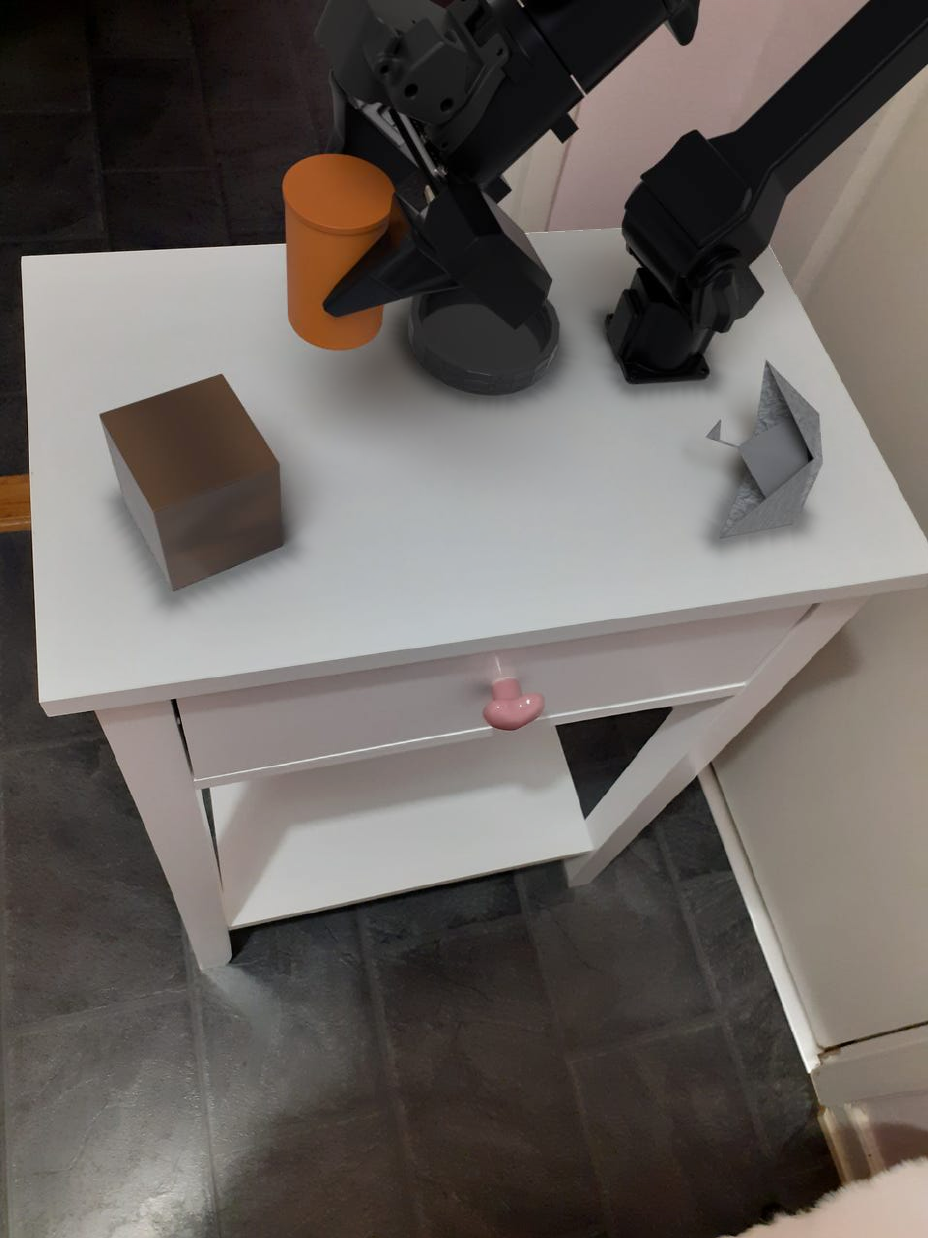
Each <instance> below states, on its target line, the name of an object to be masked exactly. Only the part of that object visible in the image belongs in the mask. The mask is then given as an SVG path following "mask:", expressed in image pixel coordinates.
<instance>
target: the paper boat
mask: <svg viewBox="0 0 928 1238" xmlns="http://www.w3.org/2000/svg"><path fill="white" fill-rule="evenodd" d="M760 388H761V389H760V394H759V402H758V407H757V414H756V415H757V416H756V422H755V427H754V428H755V429H754V435H753V437H751V438H749V439H748V440H746V441H744V442H742V443H740V444H739V445H736V444H733V443H730V442H727V441H723V440H721V431H722V419H719V420H718V422H717V423H716V424H715V425H714V426H713V428H712V429H711V430H710V431H709V432H708V434H707V435H706V436H705V437H706V438H707V439H709V440H712V441H716V442H718V443H720V444H723V445H727V446H731V447H734V448H736V449H737V450H738V453H740V455H741V457H742V459H743V461H744V462H745V464H746V466H747V470H746V472H745V475H744V478H743V480H742V481H741V485H740V486H739V490H738V491H737V495H736V497H735V499H734V502H733V504H732V507H731V509H730V512H729V514H728V517H727V519H726V521H725V524H724V526H723V528H722V530H721V533H720V535H719V539H723V538H728V537H732V536H739V535H744V534H748V533H754V532H759V531H765V530H769V529H773V528H781V527H785V526H790V525H793V524H794V522H795V521H796V519H797V518H798V516H799V515H800V513H801V511H802V509H803V508H804V505H805V504H806V501H807V499H808V497H809V495H810V493H811V491H812V489H813V486H814V483H815V481H816V480H817V477H818V475H819V473H820V471H821V469H822V466H823V464H824V462H823V460H824V459H823V447H822V445H823V444H822V430H821V417H820V413H819V412H818V411H817V410H816V409H815V408H814V406H812V405H811V404H810V403H809V402H808V401H807V400H806V399H805V397H803V396H802V394H801V393H799V391H798V390H797V389H796V388H795V387H794V386H793V385H792V384H791V383H790V381H788V380H787V379H786V378H785V377H784V376H783V375H782V374H781V372H780V371H778V369H776V368H775V367H774V366H773V364H771V362H769V360H768V359H765V360H764V367H763V374H762V381H761V387H760Z"/></svg>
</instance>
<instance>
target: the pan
mask: <svg viewBox="0 0 928 1238" xmlns="http://www.w3.org/2000/svg"><path fill="white" fill-rule="evenodd" d="M560 328H561V323H560V320H559V317H558V314H557V312H556V308H555V307H554V305H553V303H552V302H551V301H550V299H549V298H547V301H546V303H545V304H544V306H543V307H542V308H541V309H540V310H539V311H538V312H536V313H535V314H534V315H533V316H532V317H531V318H529V319H528V320H527V321H526V322H525V323H523V324H522V325H521V326H520V327H519V328H517V329H516V330H514V329H513V328H512V327H511V326H509V325H508V324H507V323H506V322H504V321H503V320H502V319H501V318H500V317H498V316H497V315H496V314H495V313H493V312H492V311H491V310H490V309H488V308H487V307H486V306H485V305H484V304H482V303H481V302H480V301H479V300H477V299H476V298H475V297H474V296H472V295H471V294H470V293H469V292H468V291H466V290H465V289H464V288H463V287H461V288H456V289H450V290H444V291H439V292H433V293H427V294H422V295H417V296H413V297H411V303H410V308H409V314H408V322H407V337H408V343H409V346H410V348H411V351H412V353H413V355H414V357H415V358H416V360H417V361H418V362H419V364H420V366H422V367H423V368H424V369H425V371H427V372H428V373H429V374H430V375H432V376H433V377H434V378H436V379H437V380H439V381H440V382H442V383H444V384H446V385H447V386H450V387H452V388H454V389H457V390H460V391H464V392H467V393H471V394H477V395H485V396H499V395H507V394H512V393H516V392H519V391H521V390H524V389H526V388H528V387H530V386H532V385H533V384H535V383H536V382H538V381H539V380H540V379H541V378H542V377H543V376H544V375H545V374H546V372H547V371H548V369H549V367H550V365H551V363H552V360H553V359H554V356H555V353H556V350H557V348H558V344H559V341H560V330H561V329H560Z"/></svg>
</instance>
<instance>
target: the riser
mask: <svg viewBox="0 0 928 1238" xmlns="http://www.w3.org/2000/svg"><path fill="white" fill-rule="evenodd" d="M98 416H99V420H100V423H101V426H102V430H103V434H104V437H105V441H106V444H107V448H108V451H109V454H110V458H111V461H112V465H113V468H114V471H115V476H116V478H117V479H116V480H117V482H118V485H119V489H120V492H121V495H122V496H121V497H122V499H123V502H124V504H125V507H126V508H127V510H128V512H129V514H130V515H131V517H132V520H133V521H134V523H135V525H136V527H137V528H138V530H139V532H140V533H141V535H142V538H143V540H144V541H145V543H146V545H147V547H148V549H149V551H150V552H151V554H152V556H153V559H155V561H156V563H157V565H158V567H159V569H160V570H161V572H162V574H163V576H164V578H165V580H166V581H167V583H168V585H169V587H170V589H171V591H173V592H175V591H177V590H180V589H182V588H184V587H187V586H189V585H191V584H192V585H193V584H194V583H196V582H199V581H201V580H204V579H206V578H208V577H211V576H214V575H216V574H218V573H221V572H223V571H225V570H228V569H230V568H233V567H235V566H238V565H240V564H242V563H244V562H247V561H249V560H252V559H254V558H257V557H259V556H262V555H264V554H267V553H269V552H272V551H273V550H276V549H279V548H282V547H283V545H284V542H283V540H284V539H283V515H282V514H283V513H282V489H281V466H280V465H281V463H280V462H279V460H278V459H277V457H276V456H275V454H274V453H273V451H272V449H271V448H270V446H269V444H268V443H267V442H266V440H265V438H264V436H263V435H262V434H261V432H260V431H259V429H258V428H257V426H256V424H255V422H254V421H253V420H252V418H251V416H250V415H249V413H248V411H247V409H245V406H244V405H243V404H242V401H240V399H239V397H238V396H237V394H236V393H235V391H234V389H233V388H232V386H231V385H230V383H229V381H228V380H227V378H226V377H225V375H224V374H223V373H219V374H216V375H213V376H209V377H206V378H204V379H201V380H197V381H195V382H192V383H189V384H185V385H183V386H179V387H176V388H173V389H170V390H167V391H165V392H164V391H163V392H162V393H158V394H156V395H152V396H150V397H146V398H143V399H140V400H137V401H134V402H131V403H127V404H125V405H122V406H119V407H115V408H113V409H109V410H107V411H104V412H101V413H99V415H98Z"/></svg>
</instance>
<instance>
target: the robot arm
mask: <svg viewBox="0 0 928 1238" xmlns="http://www.w3.org/2000/svg"><path fill="white" fill-rule="evenodd" d="M521 4H522V5H523V6H522V5H521ZM700 5H701V0H519V1H518V0H491V1H489V0H453V1H451V3H450V4H449V5H447V6H445V7H444V8H443V7H442V6H440V5H438V4H437V3H435V2H433V1H431V0H327V2H326V5H325V6H324V9H323V12H322V14H321V16H320V19H319V21H318V23H316V25H315V27H316V28H315V30H314V32H313V37H314V40H315V42H316V44H317V46H319V47H321V48H323V49H324V51H325V53H326V55H327V57H328V59H329V61H330V62H331V64H332V66H333V69H330V71H329V74H328V84H329V86H330V88H331V95H332V108H333V129H332V132H331V134H330V137H329V140H328V142H327V145H326V148H325V149H324V150H325V151H324V153H323V154H343V155H349V156H353V157H357V158H360V159H363V160H365V161H367V162H369V163H371V164H373V165H375V166H376V167H378V168H379V169H380V170H382V171H383V172H384V173H385V174H386V175H387V176H388V178H389V179H390V180H391V182H392V184H393V186H394V188H395V187H396V186H398V185H400V184H402V182H404V181H405V180H407V179H408V178H410V177H412V176H413V175H415V173H417V172H419V171H420V173H421V174H422V176H423V178H424V180H425V181H426V184H427V185H428V188H429V189H430V190H431V192H432V194H433V196H434V198H433V199H432V200H430V202H429V203H428V204H427V205H426V206H425V207H424V208H423V209H422V210H421V211H420V212H419V211H418V210H417V209H415V207H414V206H412V205H411V204H410V203H409V202H408V201H406V200H405V199H404V198H403V197H402V196H401V195H399V194H398V193H397V192H396V191H395V192H394V193H393V195H392V200H391V208H390V215H389V222H388V228H387V230H386V231H385V233H384V234H383V235H382V236H381V237H380V238H379V239H378V240H377V241H376V242H375V243H374V245H373V246H372V247H371V248H370V249H369V250H368V251H367V252H366V253H365V254H364V255H363V256H362V257H361V258H360V259H359V260H358V262H357V263H356V264H355V265H354V266H353V267H352V268H351V269H350V270H349V271H348V272H347V273H346V274H345V275H344V276H343V278H342V279H341V280H340V281H339V282H338V283H337V284H336V285H335V287H334V288H333V289H332V291H331V292H330V293H329V295H328V296H327V297H326V299H325V300H324V301H323V303H322V307H323V309H324V311H325V312H327V313H328V314H330V315H331V316H333V317H336V318H338V317H342V316H345V315H349V314H352V313H356V312H359V311H363V310H366V309H370V308H373V307H377V306H380V305H384V306H385V305H387V304H390V303H395V302H397V301H402V300H405V299H409V298H412V297H413V296H417V295H422V294H427V293H433V292H439V291H444V290H450V289H456V288H461V287H463V288H464V289H465V290H466V291H468V292H469V293H470V294H471V295H472V296H474V297H475V298H476V299H477V300H479V301H480V302H481V303H482V304H484V305H485V306H486V307H487V308H488V309H490V310H491V311H492V312H493V313H495V314H496V315H497V316H498V317H500V318H501V319H502V320H503V321H504V322H506V323H507V324H508V325H509V326H511V327H512V328H513V329H514V330H516V329H517V328H519V327H520V326H521V325H522V324H523V323H525V322H526V321H527V320H528V319H529V318H531V317H532V316H533V315H534V314H535V313H536V312H538V311H539V310H540V309H541V308H542V307H543V306H544V304H545V303H546V301H547V299H549V298H548V297H549V294H550V290H551V287H552V284H553V278H552V276H551V275H550V273H549V271H548V270H547V268H546V267H545V265H544V263H543V261H542V259H541V258H540V256H539V255H538V253H537V251H536V249H535V248H534V246H533V244H532V243H531V241H530V239H529V237H528V236H527V234H526V233H525V231H524V230H523V229H522V228H521V226H519V225H518V224H517V223H516V222H515V221H514V220H513V219H512V218H511V216H509V214H507V213H506V212H505V211H504V210H503V209H502V208H501V206H500V205H498V204H499V203H501V202H502V200H504V199H505V198H506V197H507V196H508V195H509V194H511V192H512V191H513V189H512V188H511V186H510V184H509V182H508V181H507V179H506V177H505V176H504V174H505V173H506V172H507V171H508V170H509V169H510V168H511V167H513V165H514V164H515V163H517V161H518V160H520V158H522V157H523V156H524V155H525V154H526V153H527V152H528V151H529V150H530V149H531V148H532V147H533V146H535V145H536V143H537V142H539V141H540V140H541V139H542V138H543V137H544V136H546V134H547V133H548V132H550V131H551V132H552V133H553V134H554V136H555V137H556V138H557V139H558V141H559V142H560V143H561V144H562V145H563V144H564V143H566V142H567V141H568V140H569V139H570V138H571V137H572V136H573V135H574V134H575V133H577V131H579V130H580V128H579V126H578V125H577V123H576V121H575V120H574V118H573V117H572V116H571V114H570V112H571V111H572V110H573V109H574V108H575V107H576V106H577V105H579V104H580V102H581V101H583V99H585V98H586V97H585V95H586V96H588V95H589V94H590V93H591V92H592V91H593V90H594V89H595V88H596V87H597V86H599V84H601V82H603V81H605V79H606V78H607V77H609V75H611V73H612V72H613V71H614V70H615V69H617V67H619V66H620V65H621V64H622V63H623V62H624V61H625V60H626V59H628V57H629V56H631V55H632V54H633V53H634V52H635V51H636V50H637V49H638V48H639V47H641V46H642V45H643V43H644V42H646V40H648V39H649V38H650V37H651V36H652V35H653V34H654V33H655V32H656V31H657V30H658V29H659V28H660V27H662V26H663V25H664V26H665V27H666V29H667V30H668V31H669V33H670V34H671V35H672V37H673V38H674V39H675V41H676V43H677V44H678V45H680V46H681V47H687V46H688V45H690V44H691V43H692V41H694V38H695V34H696V30H697V27H698V23H699V14H700V13H699V11H700ZM927 66H928V0H867V1H866V2H865V4H863V5H862V6H861V8H859V9H858V10H857V12H855V13H854V14H853V15H852V16H851V17H850V18H849V19H848V20H847V21H846V22H845V23H844V24H843V25H842V26H841V27H840V28H839V29H838V30H837V31H836V32H835V33H834V34H833V35H832V36H831V37H830V38H828V40H827V41H826V42H824V44H822V46H821V47H819V49H817V51H816V52H815V53H814V54H813V55H812V56H811V57H809V58H808V59H807V60H806V62H804V64H802V66H801V67H799V68H798V70H796V71H795V72H794V73H793V74H792V75H791V76H790V77H789V78H788V79H787V80H786V81H785V82H784V83H783V84H782V85H781V86H780V87H779V88H778V89H777V90H776V91H775V92H774V93H773V94H772V95H771V96H770V97H769V98H768V99H767V100H766V101H765V102H764V103H763V104H762V105H761V106H760V107H759V108H757V110H755V112H754V113H753V114H752V115H751V116H750V117H748V119H747V120H745V122H743V123H742V124H741V125H740V126H739V127H738V128H736V129H735V130H733V131H729V132H725V133H723V134H719V135H716V136H712V137H709V138H706V137H705V136H704V135H703V133H701V132H700V131H699V130H698V129H692V130H691V131H688V132H686V133H685V134H683V135H681V136H680V137H679V138H678V139H677V141H676V142H675V143H674V144H673V145H672V147H671V148H670V149H669V151H668V152H667V153H666V154H665V155H664V156H663V157H662V158H661V159H660V160H658V161H657V162H656V164H654V165H653V166H652V167H650V168H649V169H647V170H645V171H644V172H643V173H641V174H640V175H639V179H640V182H639V183H638V184H637V185H636V186H635V187H634V188H633V189H632V191H631V193H630V194H629V196H628V198H627V199H626V201H625V203H624V205H623V206H624V207H623V209H624V211H625V212H624V214H623V218H622V221H621V235H622V237H623V239H624V241H625V251H626V253H628V254H629V256H632V257H633V258H634V259H635V261H636V262H637V263H638V264H639V267H637V268H636V270H635V272H634V275H633V278H632V280H631V283H630V285H629V287H628V288H624V289H623V290H622V292H621V293H620V297H619V299H618V301H617V304H616V307H615V310H614V313H613V312H611V313H607V314H606V316H605V318H604V325H605V327H606V330H607V332H606V333H607V336H608V339H609V342H610V344H611V348H612V349H613V353H614V355H615V357H616V358H617V359H618V361H619V364H620V368H621V370H622V372H623V375H624V377H625V379H626V381H627V382H628V383H630V384H645V383H661V382H676V381H677V382H678V381H693V380H705V379H707V378H708V377H709V375H710V373H711V369H710V367H709V365H708V361H707V360H706V358H705V354H706V351H707V349H708V347H709V346H710V344H711V342H712V340H713V337H714V336H715V333H719V334H725V333H728V332H730V330H731V328H732V326H733V324H734V322H735V321H737V320H740V319H743V318H746V317H747V315H748V314H749V313H750V312H751V311H752V310H753V309H754V307H755V306H756V304H757V303H758V302H759V301H760V299H761V298H763V296H764V294H765V289H764V288H763V286H762V285H761V284H760V282H759V281H758V278H757V276H756V275H755V274H754V272H753V271H752V269H751V268H750V266H751V265H752V264H753V263H754V262H755V261H756V260H757V259H758V258H759V257H760V256H761V255H762V254H763V253H764V252H765V251H766V249H767V248H768V247H769V246H770V243H771V241H772V237H773V235H774V232H775V230H776V226H777V224H778V221H779V219H780V215H781V213H782V210H783V207H784V205H785V202H786V199H787V196H788V195H789V194H790V193H791V192H792V191H793V190H794V189H795V188H796V187H797V186H798V185H799V184H800V183H801V182H803V181H804V180H805V179H806V178H807V177H808V176H809V175H810V174H811V173H813V172H814V171H815V170H816V168H818V167H819V166H820V165H821V164H822V163H823V162H824V161H825V160H826V159H828V158H829V157H830V156H831V155H832V154H833V153H834V152H835V151H836V150H837V149H838V148H840V146H842V145H843V143H845V142H846V141H847V140H848V139H849V138H850V137H851V136H852V135H853V134H854V133H856V132H857V131H858V130H859V129H860V128H861V127H862V126H863V125H864V124H865V123H866V122H868V120H870V119H871V118H872V117H873V116H874V115H875V114H876V113H877V112H879V110H880V109H882V108H883V107H884V106H885V105H886V104H887V103H888V102H889V101H890V100H891V99H892V98H893V97H895V95H897V94H898V93H899V92H900V91H901V90H902V89H903V88H904V87H905V86H906V85H907V84H908V83H909V82H911V81H912V80H913V79H914V78H915V77H916V76H918V74H919V73H920V72H922V71H923V70H924V69H925V68H926V67H927ZM573 78H574V79H573ZM576 82H577V83H576ZM580 88H581V89H580Z"/></svg>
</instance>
